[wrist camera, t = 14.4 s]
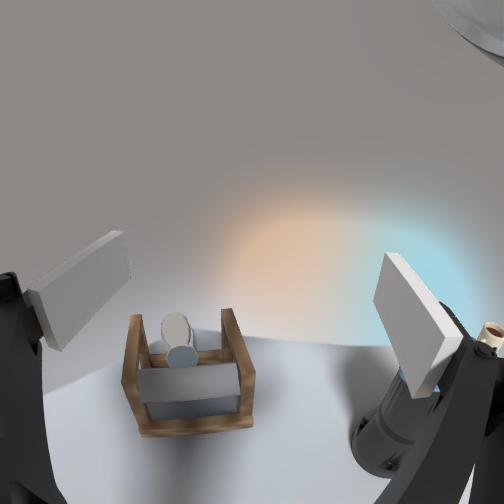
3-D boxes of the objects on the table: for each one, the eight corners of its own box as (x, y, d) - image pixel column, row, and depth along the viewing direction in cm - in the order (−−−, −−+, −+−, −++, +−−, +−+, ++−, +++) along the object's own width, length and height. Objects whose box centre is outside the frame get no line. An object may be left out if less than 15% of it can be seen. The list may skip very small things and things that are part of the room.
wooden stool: (230, 356, 59) (230, 305, 54) (252, 426, 42) (257, 377, 37) (143, 363, 54) (131, 311, 49) (142, 436, 37) (120, 387, 32)
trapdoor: (132, 402, 27) (127, 370, 29) (153, 386, 47) (151, 366, 49) (248, 393, 31) (244, 361, 32) (225, 380, 51) (222, 360, 52)
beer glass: (206, 349, 50) (194, 317, 64) (171, 338, 47) (166, 307, 61) (192, 378, 50) (183, 342, 64) (158, 368, 48) (156, 332, 61)
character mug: (467, 386, 45) (493, 343, 40) (453, 368, 51) (474, 325, 46) (491, 374, 46) (514, 333, 41) (476, 358, 53) (497, 318, 48)
